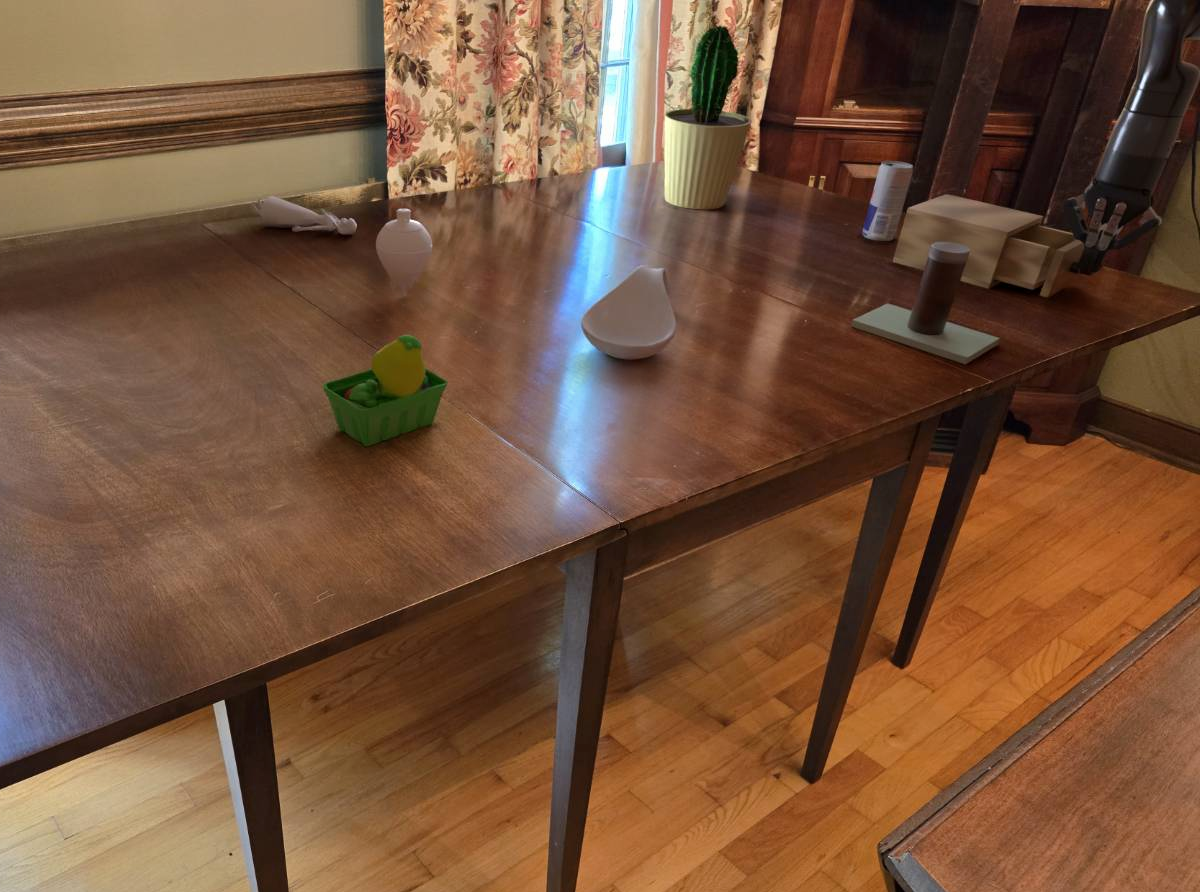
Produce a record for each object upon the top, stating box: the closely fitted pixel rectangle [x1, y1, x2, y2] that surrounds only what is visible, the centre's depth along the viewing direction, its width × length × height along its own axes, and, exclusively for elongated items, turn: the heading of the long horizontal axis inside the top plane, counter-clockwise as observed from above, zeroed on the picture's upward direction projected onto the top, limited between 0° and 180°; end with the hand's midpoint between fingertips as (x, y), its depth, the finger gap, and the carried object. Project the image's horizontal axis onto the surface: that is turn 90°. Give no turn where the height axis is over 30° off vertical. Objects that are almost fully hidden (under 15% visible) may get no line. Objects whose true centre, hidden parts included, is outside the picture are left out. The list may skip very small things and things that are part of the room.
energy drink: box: [862, 160, 914, 242], centre depth 163 cm, size 5×5×12 cm
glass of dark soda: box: [907, 242, 970, 335], centre depth 126 cm, size 5×5×11 cm
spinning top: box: [375, 208, 433, 298], centre depth 131 cm, size 8×8×12 cm
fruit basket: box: [322, 334, 448, 448], centre depth 99 cm, size 11×9×11 cm
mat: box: [850, 303, 1000, 365], centre depth 129 cm, size 16×10×1 cm, turn 43°
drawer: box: [994, 224, 1084, 299], centre depth 146 cm, size 16×12×7 cm
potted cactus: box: [664, 22, 753, 210], centre depth 172 cm, size 15×15×30 cm
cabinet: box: [892, 193, 1044, 290], centre depth 152 cm, size 16×14×9 cm
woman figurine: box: [250, 195, 358, 236], centre depth 157 cm, size 12×4×18 cm
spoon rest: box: [580, 264, 677, 361], centre depth 124 cm, size 24×12×7 cm, turn 162°
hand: (1086, 273), depth 139 cm, fingers closed
